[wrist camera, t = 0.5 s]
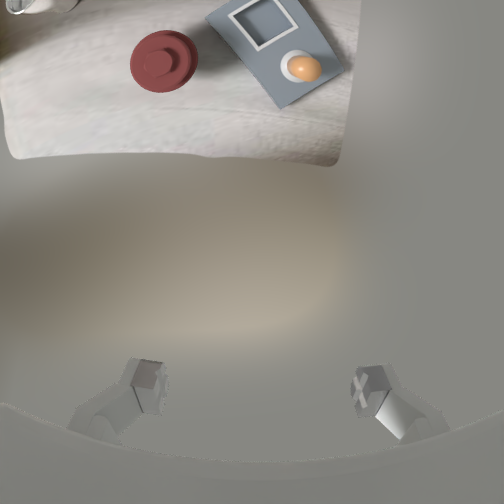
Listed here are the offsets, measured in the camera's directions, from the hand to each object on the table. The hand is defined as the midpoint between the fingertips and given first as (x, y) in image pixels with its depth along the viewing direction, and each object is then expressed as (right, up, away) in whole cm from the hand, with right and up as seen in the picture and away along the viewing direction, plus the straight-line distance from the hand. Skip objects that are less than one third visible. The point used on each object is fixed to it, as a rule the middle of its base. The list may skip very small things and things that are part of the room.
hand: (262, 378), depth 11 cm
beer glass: (-33, +49, +15) cm, 61 cm away
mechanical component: (-14, +38, +29) cm, 49 cm away
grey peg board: (+4, +41, +29) cm, 50 cm away
